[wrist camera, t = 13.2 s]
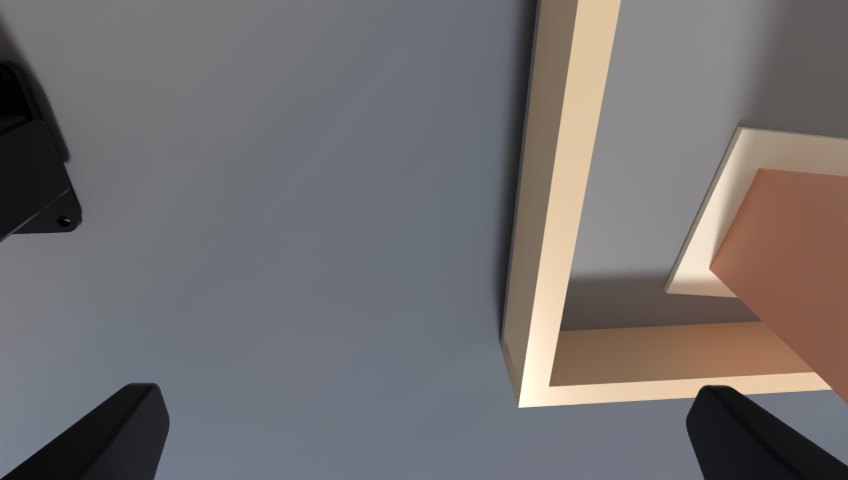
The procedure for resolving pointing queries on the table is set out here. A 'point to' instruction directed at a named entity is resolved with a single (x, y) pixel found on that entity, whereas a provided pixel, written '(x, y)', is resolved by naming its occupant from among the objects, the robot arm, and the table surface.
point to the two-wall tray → (660, 190)
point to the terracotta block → (794, 265)
